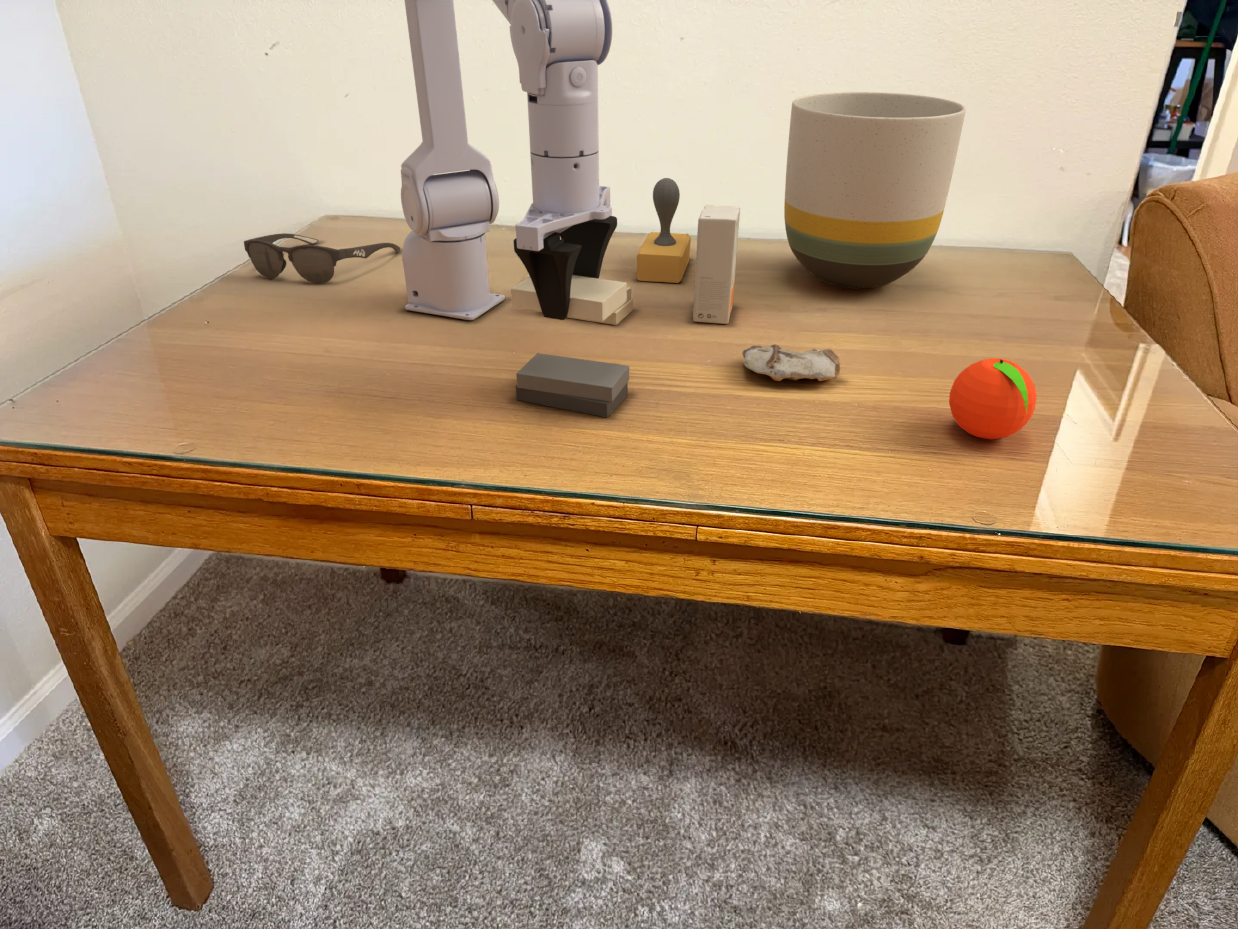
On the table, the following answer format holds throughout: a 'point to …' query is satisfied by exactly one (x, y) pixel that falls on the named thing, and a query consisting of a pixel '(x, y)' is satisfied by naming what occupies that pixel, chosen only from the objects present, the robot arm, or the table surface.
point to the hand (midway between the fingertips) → (569, 306)
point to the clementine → (992, 398)
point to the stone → (792, 363)
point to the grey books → (573, 384)
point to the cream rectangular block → (578, 297)
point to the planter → (867, 182)
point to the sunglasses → (303, 256)
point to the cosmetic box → (715, 263)
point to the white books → (617, 311)
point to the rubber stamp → (664, 240)
